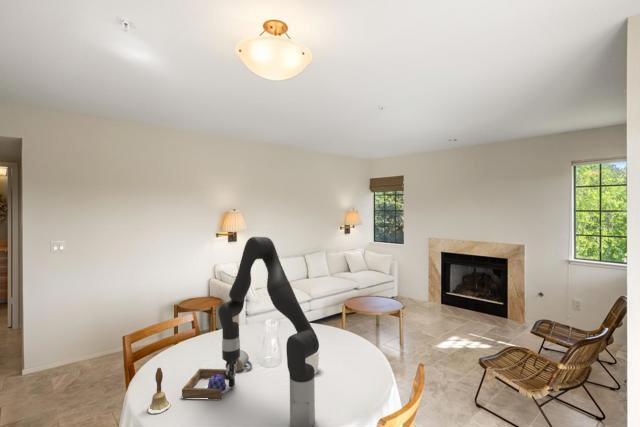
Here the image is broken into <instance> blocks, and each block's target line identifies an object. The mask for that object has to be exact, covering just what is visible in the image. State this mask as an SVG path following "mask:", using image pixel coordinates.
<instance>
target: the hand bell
mask: <svg viewBox="0 0 640 427" xmlns="http://www.w3.org/2000/svg"><path fill="white" fill-rule="evenodd" d="M155 372H156V373H155V382H156V392H155V393H154V394H153V395H152V398H151V399H152V400H151V403H150V405H149V406H150V409H152V410H161V409H163V408H165V407H167V406H168V405H169V403H170V402H169V401H168V400H167V398H166V393H165V392H164V391H162V381H163V378H164V375H163V374H164V373H163V370H162V368H161V367H157V368H156V371H155Z"/></svg>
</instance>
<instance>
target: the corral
mask: <svg viewBox="0 0 640 427" xmlns="http://www.w3.org/2000/svg"><path fill="white" fill-rule="evenodd" d="M224 371H226V368H199V369H198V370H197V371H196V372H195V374H194V375H193V376H192V377H191V378H190V380H188V382H187V383H186V384H185V385H184V386H183V387H182V389H181V398H182V397H183V398H208V399H221V400H222V394H221V389H208V388H203V387H202V388H200V387H196V386H197V384H198V383H199V382H200V381H199V380H201V378H211V377H212V376H213V375H217V374H218V375H222V376H223V377H224V380H227V379H226V377H225V375H224ZM198 381H199V382H198ZM197 382H198V383H197ZM196 383H197V384H196ZM195 385H196V386H195ZM194 386H195V387H194ZM193 387H194V388H193Z"/></svg>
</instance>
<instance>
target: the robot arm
mask: <svg viewBox="0 0 640 427" xmlns="http://www.w3.org/2000/svg"><path fill="white" fill-rule="evenodd" d="M256 260H262V261H263V263H264V265H265V268H266V270H267V271H266V272H267V279H266V280H267V281H266V290H267V293H268V296H269V298H270V300H271V303H272V305H273V306H274V308H275V309H276V310H277V311H278V312H279V313H281V314H282V315H283V316H284V317H285V318H286V319H288V320H289V321H290V323H291V324H292V325H293V327H294V329H295V330H296V333H293V334H291V335H290V336H288V338H287V341H286V365H287V369H288V373H289V425H290V426H291V427H314V425H315V423H316V410H315V409H316V405H315V404H316V403H315V401H316V398H315V397H316V395H315V392H316V391H315V388H316V384H315V375H316V374H315V371H314V367H313V366H312V365H310V364H307V363H306V362H305V358H307V357H309V356H311V355H313V354H315V353H316V352H317V351H318V350H319V348H320V344H319V338H318V336H317V334H316V332H315V330H314V329H313V327H312V324H311V323H310V322H309V319H307V317H306V315H305V313H304V311H303V309H302V308H301V305H300V303H299V301H298V298H297V296H296V294H295V292H294V289H293V287H292V286H291V283H290V281H289V279H288V277H287V274H286V273H285V270H284V268H283V265H282V264H281V261H280V258H279V255H278V252H277V249H276V246H275V244H274V242H273V240H272V239H271V238H269V237H268V236H267V237H266V236H251V237H249V238H248V239H247V241H246V243H245V244H244V248H243V252H242V256H241V259H240V263H239V266H238V271H237V274H236V276H235V279H234V282H233V284H232V286H231V288H230V290H229V294H228V296H229V298H230V300H229V301H226V302H224V303H222V304H221V305H220V306H219V308H218V313H217V314H218V318H219V321H220V325H221V328H222V339H221V341H222V342H221V355H222V356H221V358H222V360H223V361H225V362H226V363H225V369H226V371H224V375H225V377H226V379H225V380H226V381H228V382H229V387H230V388H234V387H235V385H236V383H235V382H236V379H235V377H236V374H237V366H238V358H239V357H240V350H241V341H240V325H239V323H238V322H237V321H233V318H235V317H237V316H239V315H240V314H241V313H242V311H243V309H244V305H245V298H246V296H247V295H248V292H249V290H250V288H251V284H252V267H253V265H254V263H255V261H256Z"/></svg>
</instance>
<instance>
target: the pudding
mask: <svg viewBox="0 0 640 427" xmlns="http://www.w3.org/2000/svg"><path fill="white" fill-rule="evenodd" d="M206 385H208V387H207V388H208V389H221V392H222V393H221V395H222V394H224V393H227V392H228V391H229V390H230V389H231V387H229V380H226V379H224V377H223V376H222V375H218V374H217V375H213V376H212V377H211V378H210V379H208V382H207V383H206V384H205V385H204V386H203V387H202V388H204V387H205V386H206Z"/></svg>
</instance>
